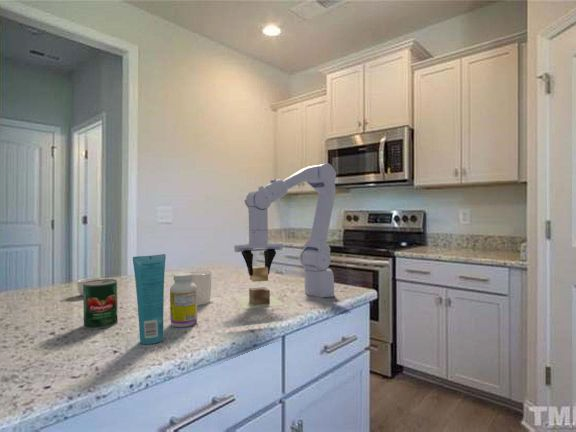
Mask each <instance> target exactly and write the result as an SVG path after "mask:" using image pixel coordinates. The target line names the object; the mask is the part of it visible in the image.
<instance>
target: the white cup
mask: <svg viewBox="0 0 576 432" xmlns="http://www.w3.org/2000/svg"><path fill="white" fill-rule="evenodd" d="M186 273H192V274H193V278H192V283H194V284H196V286H197V306H199V305H205V304H209V303H210V302H211V295H212V275H213V274H212V271H211V270H191V271H188V272H186Z"/></svg>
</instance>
